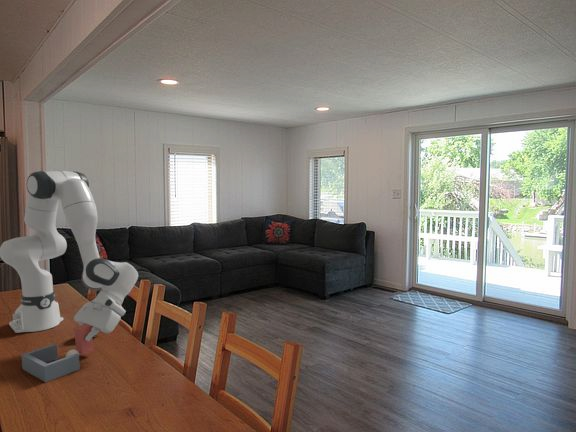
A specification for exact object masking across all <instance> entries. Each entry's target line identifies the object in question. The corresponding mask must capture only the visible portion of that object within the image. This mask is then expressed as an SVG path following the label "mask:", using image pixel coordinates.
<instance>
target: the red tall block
mask: <svg viewBox="0 0 576 432" xmlns="http://www.w3.org/2000/svg"><path fill="white" fill-rule="evenodd" d="M79 325H80V324H79ZM91 329H92V328H91V326H90V325H87V324H83V325H80V326H78V325H76V326H74V327H73V332H74V333H73V334H74V340H75V350H77V351H78V352H79V355H86V354H88V353H90V352H93V351H94V349H95V347H94V340H93V338H94V337H92V338H91V340H90V341H86V340H84V337H85V335H86V334H88V333H89V332H91V331H92V330H91Z"/></svg>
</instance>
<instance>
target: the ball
mask: <svg viewBox="0 0 576 432" xmlns="http://www.w3.org/2000/svg"><path fill="white" fill-rule="evenodd" d="M76 353H77V354H79V355H80V353H79V352H78V351H77V350H76V348H75V349H72V348H71V349H69V350H68V351H67V352H66V354H65V357H68V356H71V355H73V354H76Z"/></svg>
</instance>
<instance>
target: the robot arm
mask: <svg viewBox="0 0 576 432" xmlns="http://www.w3.org/2000/svg"><path fill="white" fill-rule="evenodd" d="M89 187H90V182H89V179H88V177H87V175H85V174H84V173H82V172H79V171H71V170H48V171H43V170H41V171H40V170H38V171H34V172H31V173H30V174H29V176H28V177H27V179H26V189H27V192H28V197H27V200H26V205H25V210H24V212H25V213H24V218H23V221H24V223H25V225H26V226H27V227H28V228H30V229H31V230H33V231H34V234H33V235H28V236H27V235H26V236H20V237H19V236H18V237H15V238H11V239H8V240H5V241H3V242H2V244H1V245H0V259H1V261H3V262H4V263H5V264H6V265H9V266H10V267H12V268H13V269H14V270H15V271H16V272H17V274H18V277H19V278H20V283H21V289H22V290H21V291H22V292H21V293H22V294H21V296H20V297H21V298H20V305H19V307H18V308H16V310H15V311H14V313H13V314H12V316H11V317H12V320H11V321H9V323H8V325H9V326H10V328H11V329H12V330H13V331H14V333H15V334H17V333H18V334H19V333H28V332H29V333H31V332H32V333H33V332H40V331H41V332H42V331H46V330H49V329H51V328H52V329H53V328H55V327H57V326H59V324H60V323H61V322H62V321H64V317H63V316H61V312H60V307H59V302H58V301H56V294H55V291H54V284H53V275H52V273H51V272H50V271H49V270H47V269H44V268H41V267H40V264H39V262H40V261H48V260H50V259H55V258H58V257H61V256H63V255H64V254H65V253H66V251H67V247H68V244H67V240H66V238H65V237H64V236H63V235H62V234H60V232H58V230H57V224H56V222H57V215H58V209H59V202H61V206H62V211H63V214H64V216H65V219H66V221H67V224H68V226H69V228H70V229H71V232H72V234H73V236H74V239H75V241H76V243H77V246H78V251H79V254H80V259H81V261H82V267H83V268H82V273H81V282H82V284H83V286H84V287H85V288H87V289H88V290H90V291H99V292H98V294H97V295H96V296H95V298H94V299H92V300H90V301H88V302H85V303H84V304H83V305H82V306H81V307H80V308H79V310H78V311H77V312H76V313H75V315H74V317H73V320H74V321H75V322H76V323H78V325H79V326H80V325H83V324H87V325H90V326H91V328H92V329H91V330H92V331H91V332H89V333H88V334H86V335H85V337H84V340H86V341H90V340H91V338H92V337H93V336H94V337H96V336H95V335H96V334H98V333H100V332H103V333H104V334H110V333H112V332H113V330H114V329H115V328H116V327H117V325H118V324H119V323H120V321H121V319H122V318H121V317H124V316H125V314H126V312H127V311H126V309H124V307H123V306H122V304H123V303H124V299H125V298H126V297H127V296H128V295H129V294H130V292H131V291H132V289H133V288H134V287H135V285H136V283H137V281H138V279H139V272H138V270H137V269H136V268H135V266H134V265H132V264H131V263H129V262H126V261H124V262H123V261H122V262H118V261H112V260H109V259H105V258H103V257H102V258H101V257H100V252H99V249H98V245H97V242H96V232H97V228H98V227H97V226H98V222H99V220H98V219H99V217H98V210H97V209H98V208H97V205H96V202H95V199H94V197H93V194H92V191H91V189H90V188H89ZM94 337H93V338H94Z"/></svg>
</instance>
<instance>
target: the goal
mask: <svg viewBox="0 0 576 432" xmlns="http://www.w3.org/2000/svg"><path fill="white" fill-rule="evenodd" d="M20 355H21V367H22V370H23V371H25V372H26V373H28V374H30V375H32V376H34V377H35V378H37V379H39V380H41V381H43V382H44V383H48V382H51V381H53V380H56V379H58V378H61V377H64V376H66V375H68V374H71V373H74V372H76V371H79V370H80V369H81V368H80V367H81V366H80V353H79V354H77V353H76V354H73V355H71V356H68V357H66V356H65V357H63V358H60V359H59V357H58V344H56V343H53V344H49V345H46V346H44V347H40V348H37V349H34V350H31V351H28V352H25V353H22V354H20ZM54 360H55V361H54Z"/></svg>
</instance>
